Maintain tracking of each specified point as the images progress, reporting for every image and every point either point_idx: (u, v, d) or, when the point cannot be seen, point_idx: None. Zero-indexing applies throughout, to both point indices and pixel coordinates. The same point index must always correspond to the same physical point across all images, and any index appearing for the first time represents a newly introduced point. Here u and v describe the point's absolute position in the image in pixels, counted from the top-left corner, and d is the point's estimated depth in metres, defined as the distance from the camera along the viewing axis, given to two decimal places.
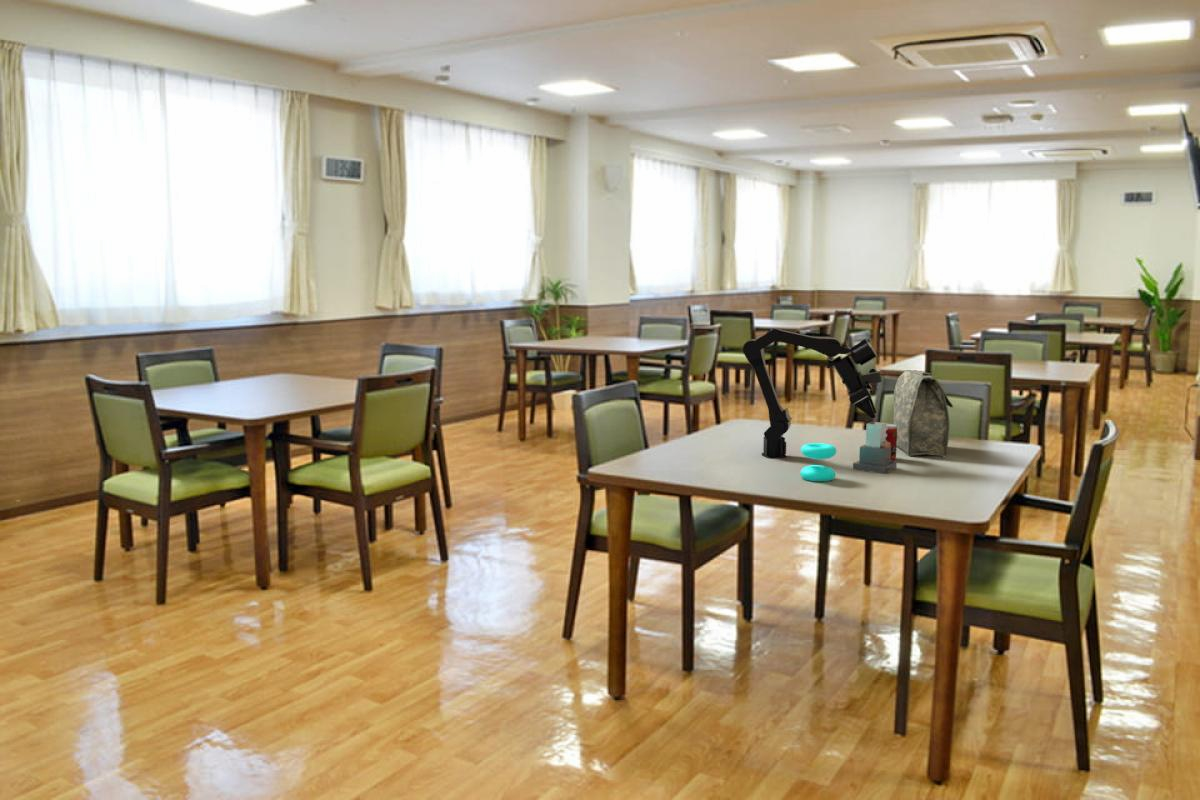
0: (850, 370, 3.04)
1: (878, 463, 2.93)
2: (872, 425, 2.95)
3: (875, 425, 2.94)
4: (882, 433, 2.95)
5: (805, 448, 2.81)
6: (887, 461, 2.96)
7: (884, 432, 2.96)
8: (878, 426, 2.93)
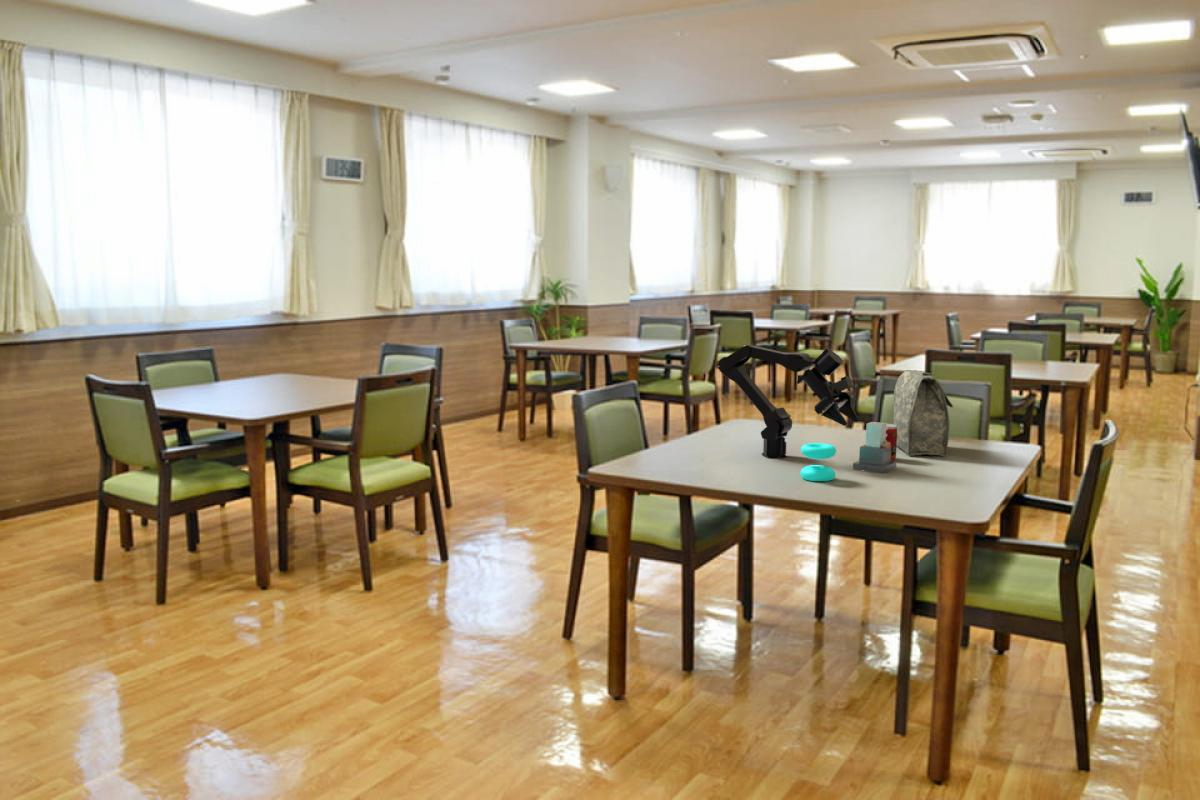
0: (817, 382, 3.03)
1: (878, 463, 2.93)
2: (872, 425, 2.95)
3: (875, 425, 2.94)
4: (882, 433, 2.95)
5: (805, 448, 2.81)
6: (887, 461, 2.96)
7: (884, 432, 2.96)
8: (878, 426, 2.93)
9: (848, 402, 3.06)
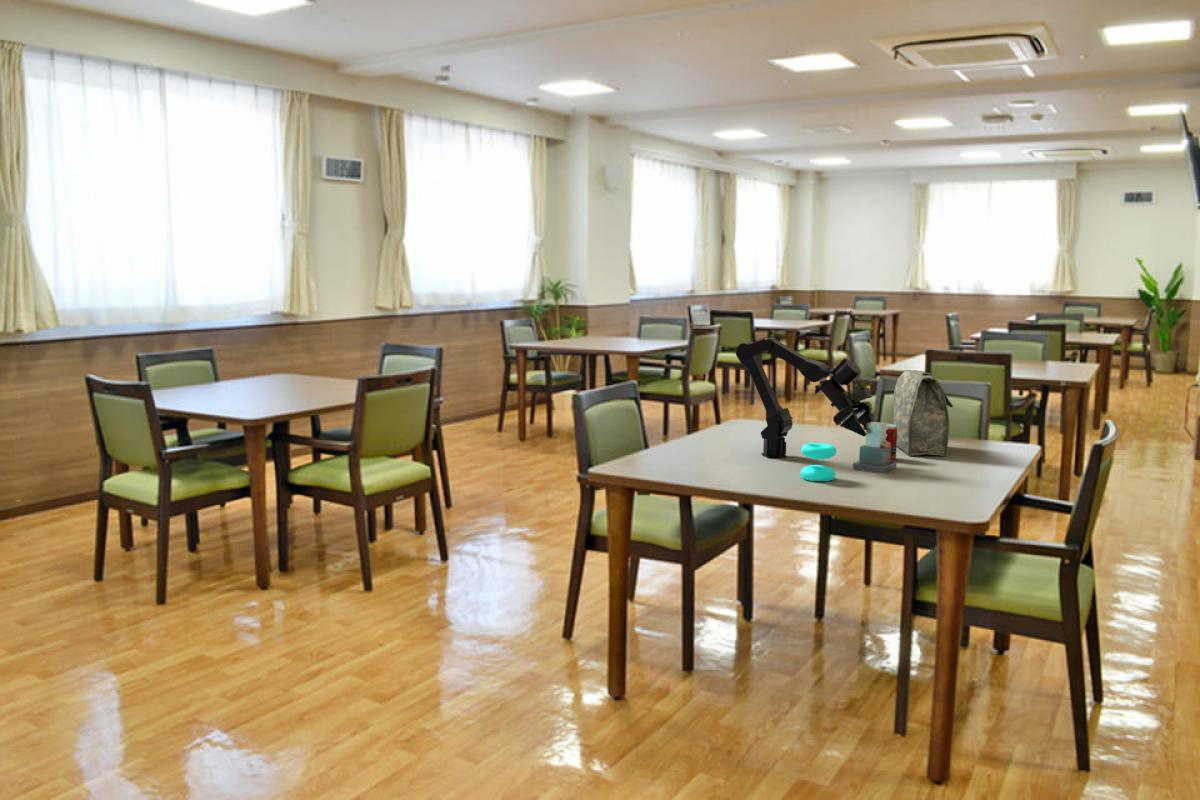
0: (835, 392, 3.00)
1: (878, 463, 2.93)
2: (872, 425, 2.95)
3: (875, 425, 2.94)
4: (882, 433, 2.95)
5: (805, 448, 2.81)
6: (887, 461, 2.96)
7: (884, 432, 2.96)
8: (878, 426, 2.93)
9: (867, 412, 3.03)
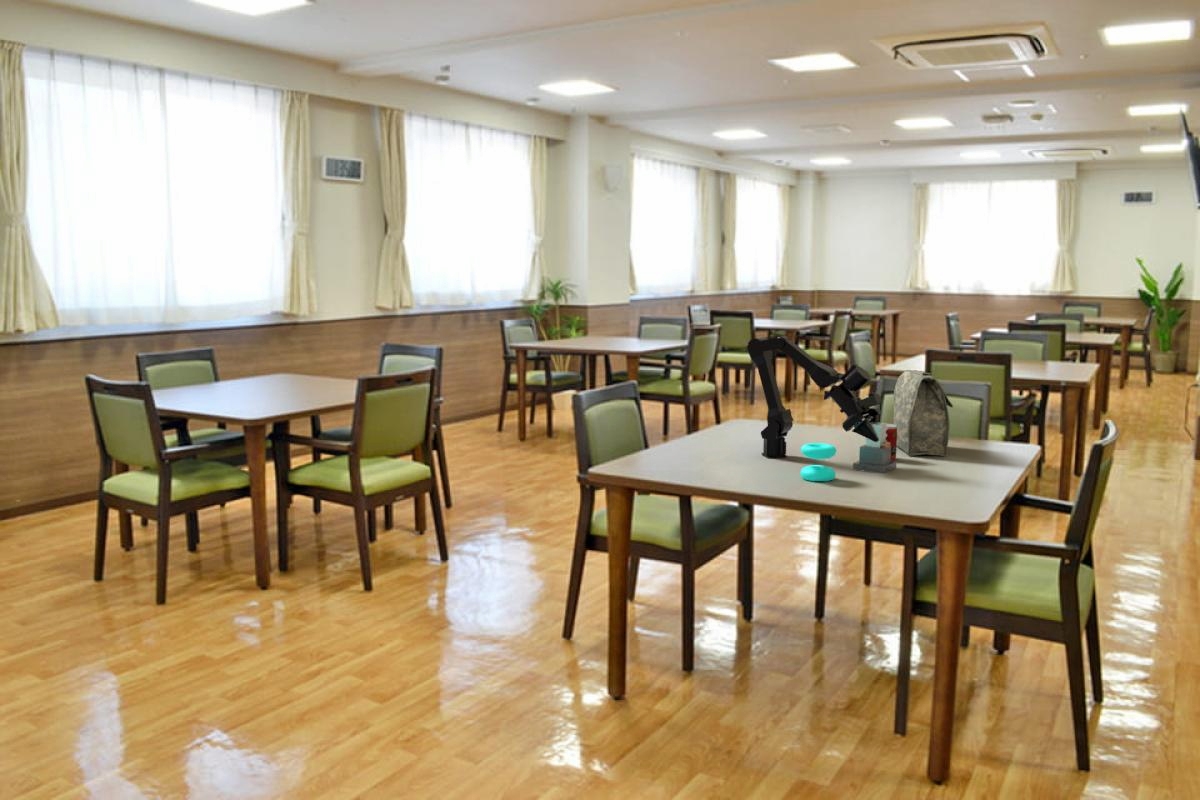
0: (844, 398, 2.98)
1: (878, 463, 2.93)
2: (872, 425, 2.95)
3: (875, 425, 2.94)
4: (882, 433, 2.95)
5: (805, 448, 2.81)
6: (887, 461, 2.96)
7: (884, 432, 2.96)
8: (878, 426, 2.93)
9: (873, 419, 2.99)
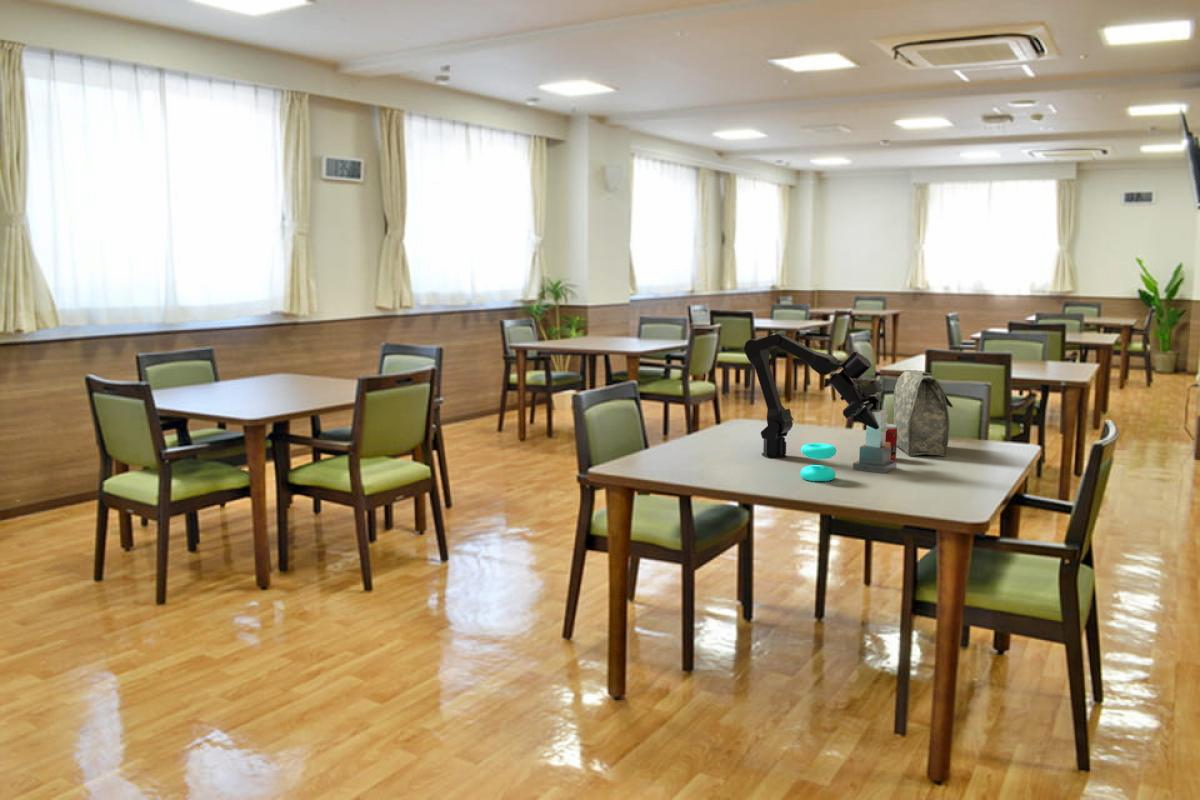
0: (845, 385, 2.98)
1: (878, 463, 2.93)
2: (872, 413, 2.94)
3: (875, 413, 2.93)
4: (882, 421, 2.94)
5: (805, 448, 2.81)
6: (887, 461, 2.96)
7: (884, 420, 2.95)
8: (878, 414, 2.93)
9: (874, 407, 2.99)
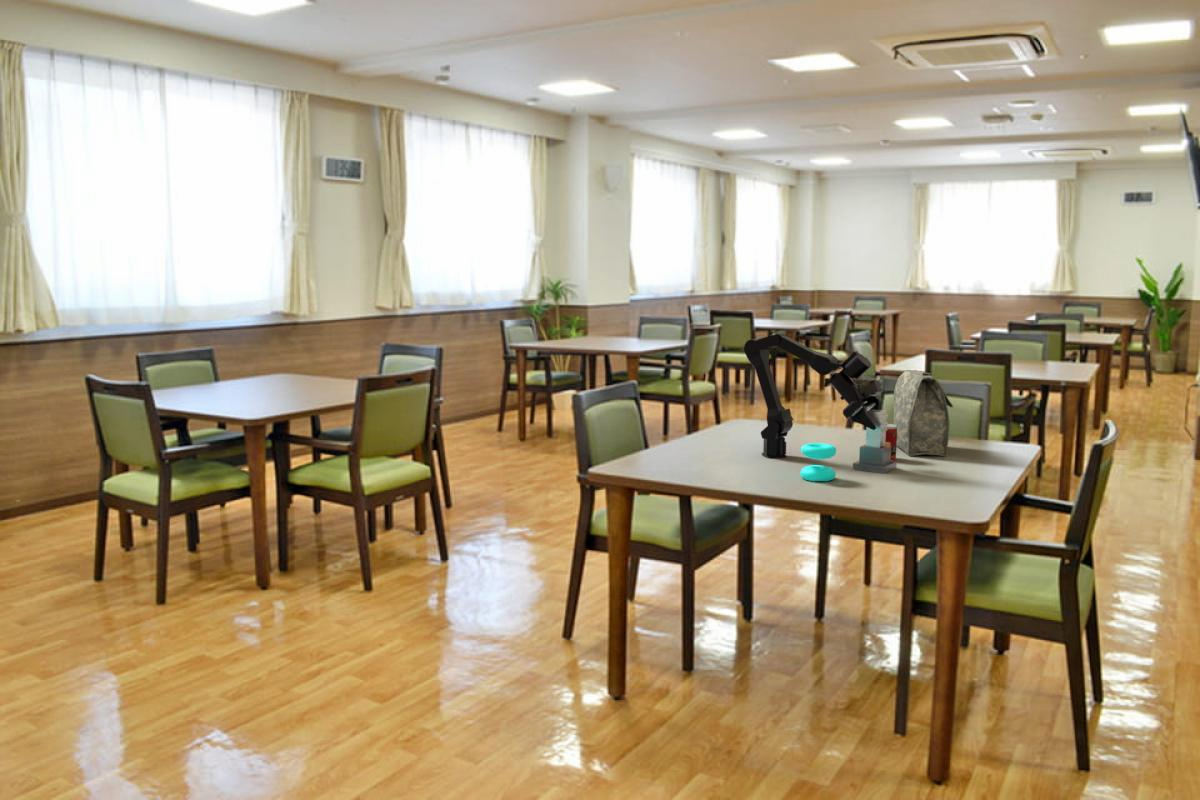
0: (845, 385, 2.98)
1: (878, 463, 2.93)
2: (872, 412, 2.94)
3: (875, 412, 2.93)
4: (882, 420, 2.94)
5: (805, 448, 2.81)
6: (887, 461, 2.96)
7: (884, 420, 2.95)
8: (878, 413, 2.93)
9: (876, 406, 3.01)
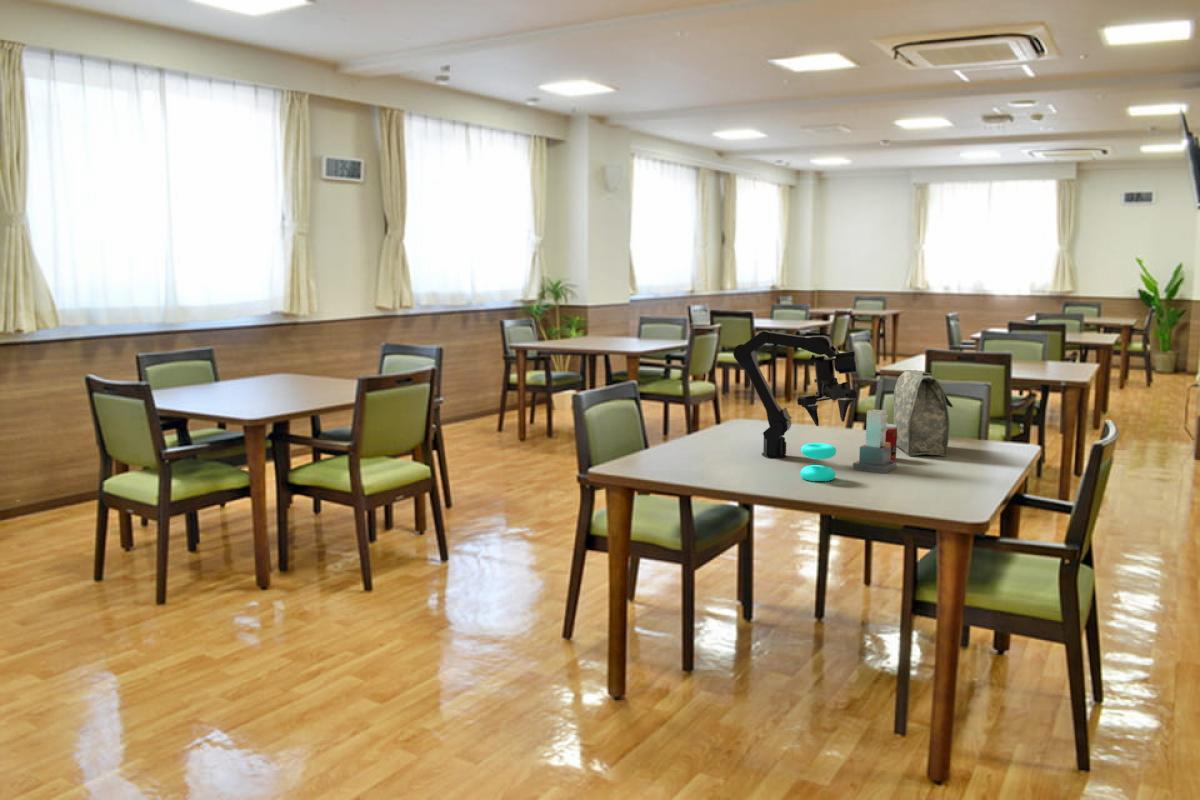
0: (827, 373, 3.06)
1: (878, 463, 2.93)
2: (872, 412, 2.94)
3: (875, 412, 2.93)
4: (882, 420, 2.94)
5: (805, 448, 2.81)
6: (887, 461, 2.96)
7: (884, 420, 2.95)
8: (878, 413, 2.93)
9: (844, 402, 3.09)
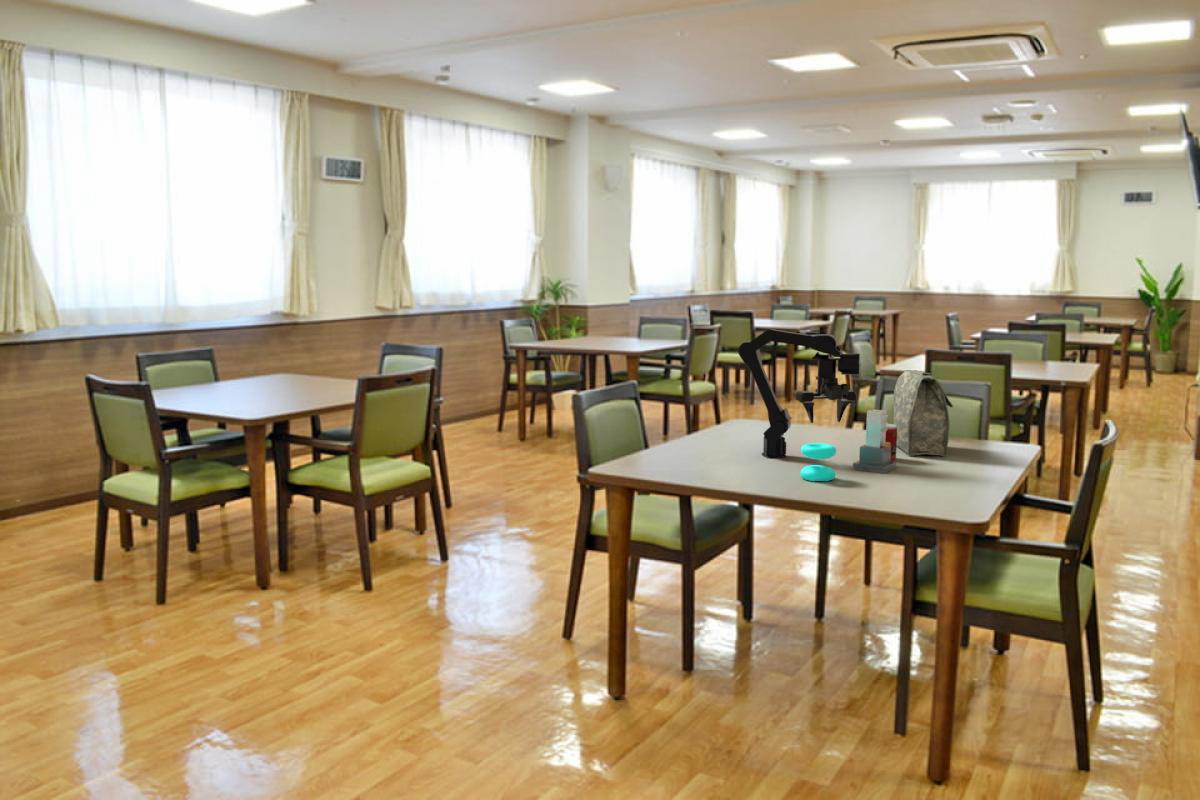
0: (829, 373, 3.06)
1: (878, 463, 2.93)
2: (872, 412, 2.94)
3: (875, 412, 2.93)
4: (882, 420, 2.94)
5: (805, 448, 2.81)
6: (887, 461, 2.96)
7: (884, 420, 2.95)
8: (878, 413, 2.93)
9: (842, 403, 3.10)
